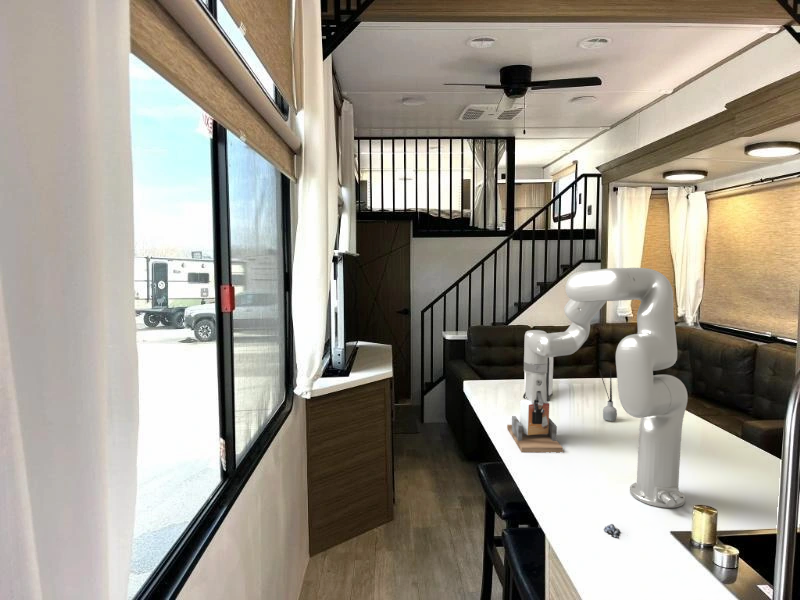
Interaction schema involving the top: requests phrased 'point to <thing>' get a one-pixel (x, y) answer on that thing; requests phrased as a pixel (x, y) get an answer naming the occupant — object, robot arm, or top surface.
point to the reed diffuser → (609, 405)
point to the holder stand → (535, 438)
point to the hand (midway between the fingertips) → (534, 419)
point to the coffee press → (548, 378)
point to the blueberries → (612, 531)
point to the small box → (526, 418)
